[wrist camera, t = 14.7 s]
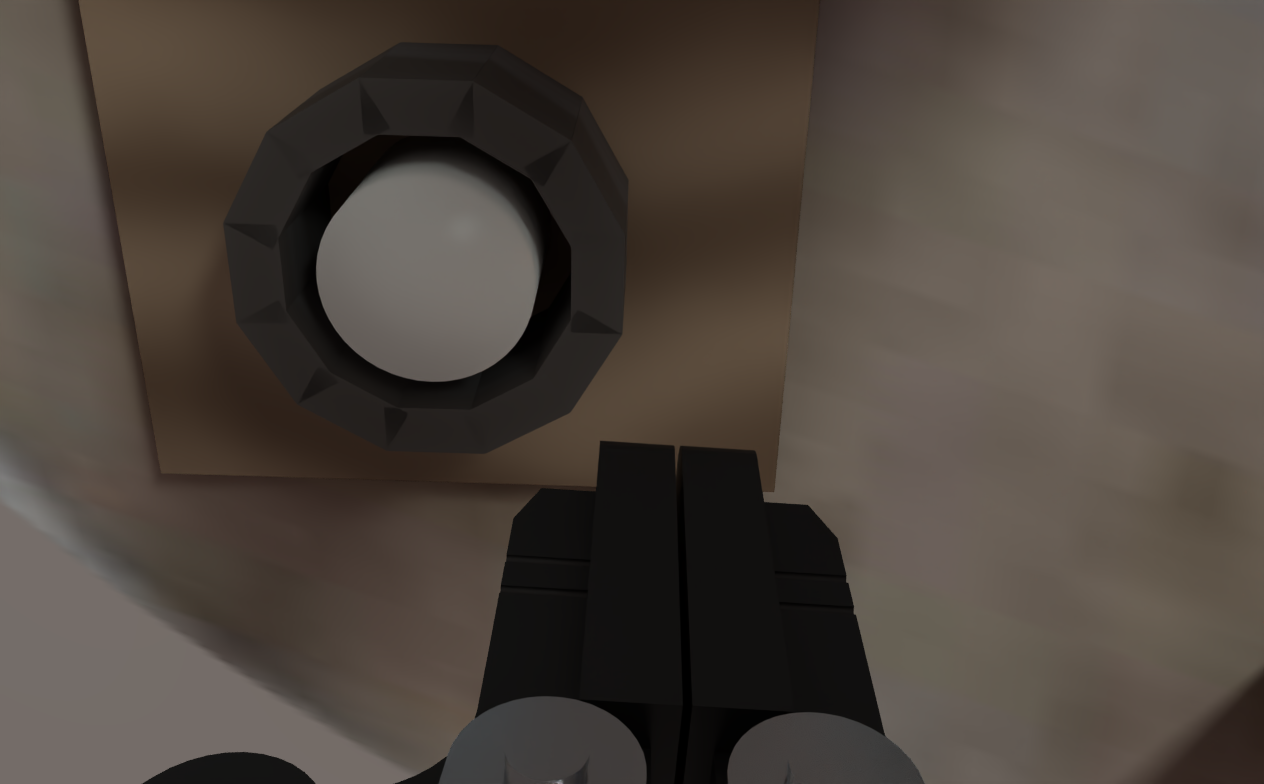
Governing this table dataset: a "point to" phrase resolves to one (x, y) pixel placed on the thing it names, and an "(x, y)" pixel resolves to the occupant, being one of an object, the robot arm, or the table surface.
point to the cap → (434, 260)
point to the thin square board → (512, 133)
